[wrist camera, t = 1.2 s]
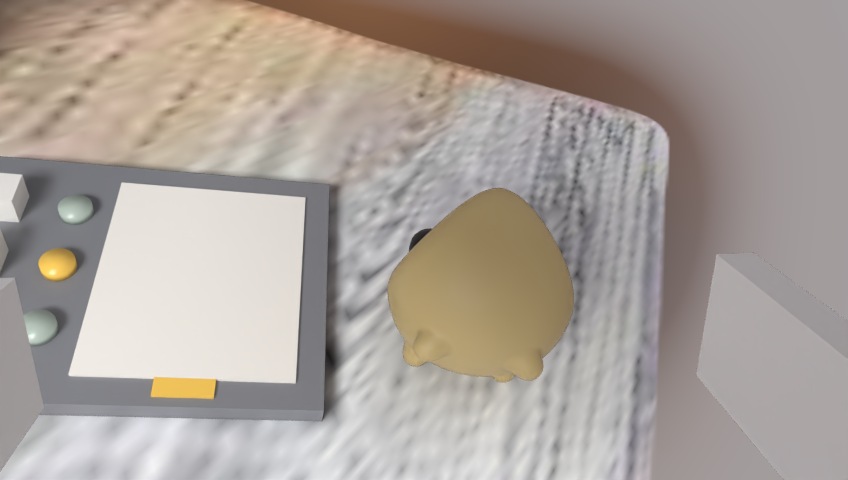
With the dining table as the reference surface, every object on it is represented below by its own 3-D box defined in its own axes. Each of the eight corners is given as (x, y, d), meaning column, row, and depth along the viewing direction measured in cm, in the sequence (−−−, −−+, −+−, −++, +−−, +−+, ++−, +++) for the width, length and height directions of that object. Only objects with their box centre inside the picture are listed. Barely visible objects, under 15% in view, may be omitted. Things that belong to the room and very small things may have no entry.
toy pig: (516, 371, 46) (554, 210, 46) (573, 426, 34) (624, 209, 34) (367, 339, 45) (405, 174, 45) (372, 384, 33) (424, 160, 33)
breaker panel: (-1, 169, 44) (-14, 133, 41) (327, 196, 47) (332, 165, 45) (-105, 411, 34) (-130, 380, 31) (321, 421, 37) (326, 394, 35)
